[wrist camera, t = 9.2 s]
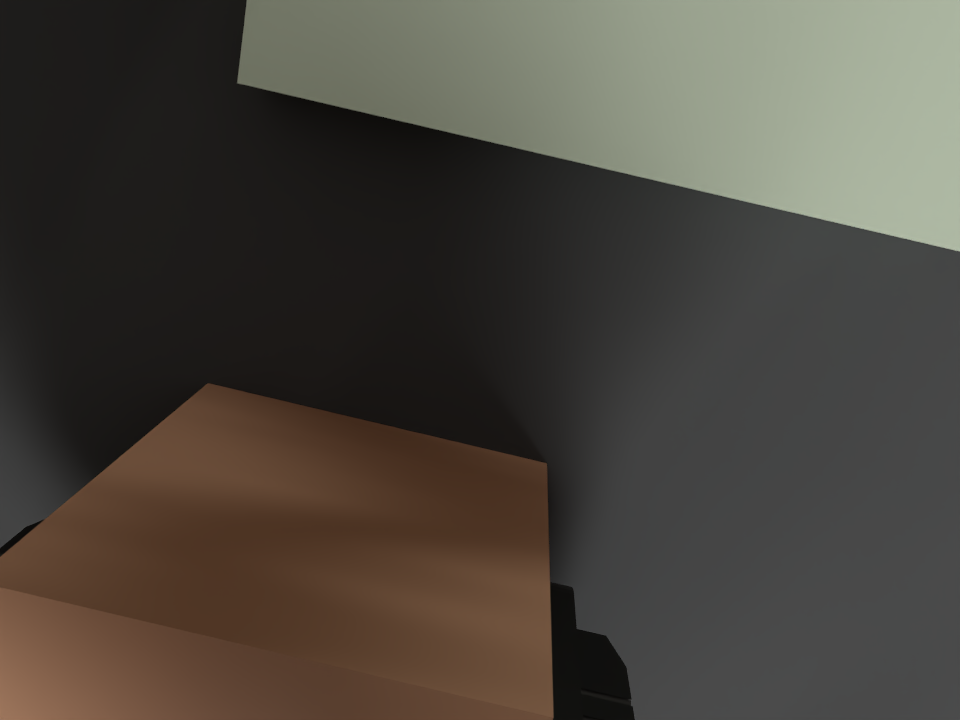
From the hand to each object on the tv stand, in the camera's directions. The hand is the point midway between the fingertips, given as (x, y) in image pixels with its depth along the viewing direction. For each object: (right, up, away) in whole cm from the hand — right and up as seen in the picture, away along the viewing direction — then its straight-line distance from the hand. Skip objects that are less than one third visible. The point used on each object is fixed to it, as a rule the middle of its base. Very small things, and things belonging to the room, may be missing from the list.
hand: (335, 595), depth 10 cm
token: (0, 0, +1) cm, 1 cm away
